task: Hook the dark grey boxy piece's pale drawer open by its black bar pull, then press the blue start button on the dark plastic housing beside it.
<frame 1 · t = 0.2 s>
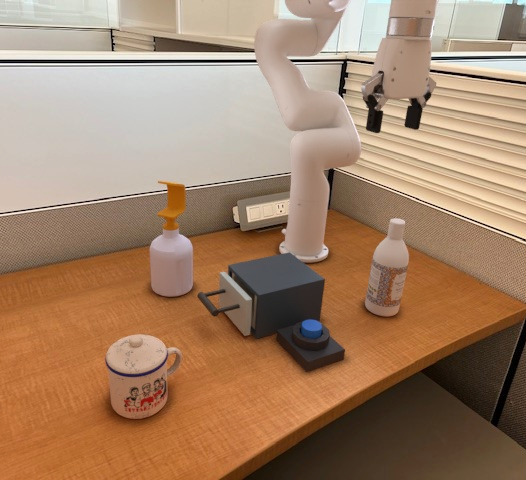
hand: (392, 129, 90), 37 cm above the table, tool pointing down, fingers open, 9 cm apart
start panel: (309, 349, 87), on the table
dark grey boxy piece: (272, 313, 98), on the table
teacup with lid: (148, 396, 75), on the table
drawer: (249, 298, 93), point 5 cm above the table, slide at 1.0 cm
soap bottle: (172, 287, 106), on the table
bath foam: (381, 309, 101), on the table
start button: (311, 329, 86), point 4 cm above the table, slide at 0.1 cm
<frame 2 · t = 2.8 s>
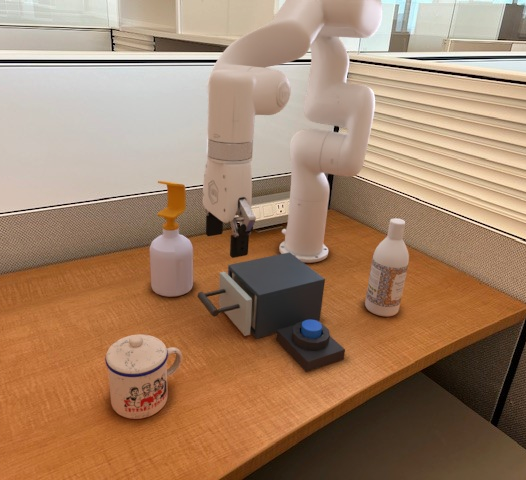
hand: (225, 244, 85), 18 cm above the table, tool pointing down, fingers open, 9 cm apart
nothing on the table moved.
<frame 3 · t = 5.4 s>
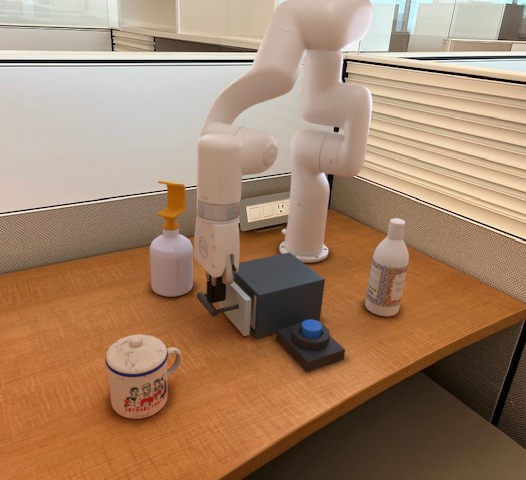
hand: (216, 299, 89), 6 cm above the table, tool pointing down, fingers closed
drawer: (248, 299, 93), point 5 cm above the table, slide at 1.2 cm, touching gripper
everything else where it was.
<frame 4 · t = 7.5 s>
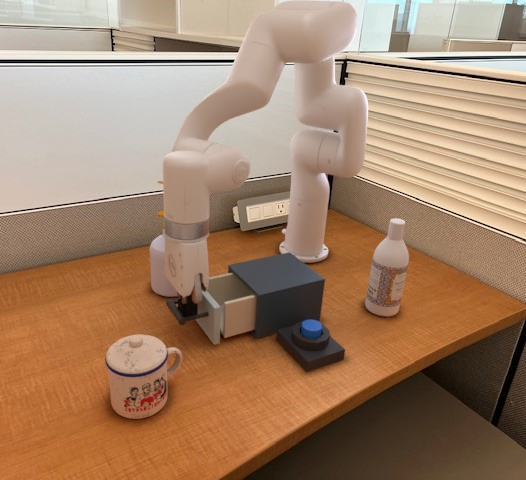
hand: (187, 317, 88), 4 cm above the table, tool pointing down, fingers closed
drawer: (220, 306, 91), point 5 cm above the table, slide at 7.3 cm
everything else where it was.
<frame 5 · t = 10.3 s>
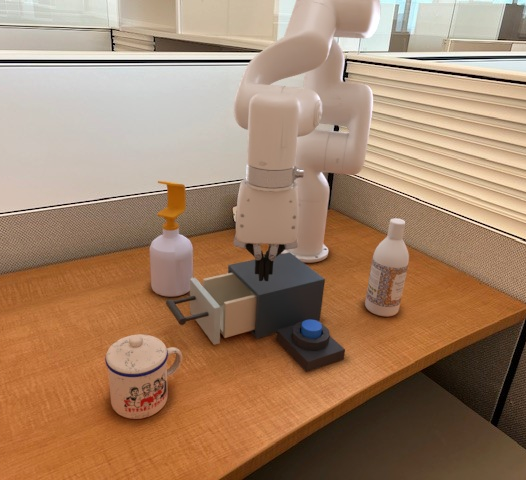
hand: (263, 277, 83), 14 cm above the table, tool pointing down, fingers closed
nothing on the table moved.
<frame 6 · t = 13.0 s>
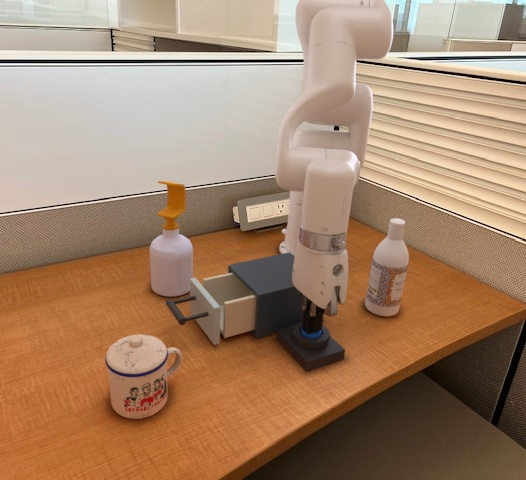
hand: (311, 330, 85), 4 cm above the table, tool pointing down, fingers closed
start button: (310, 333, 86), point 3 cm above the table, slide at -0.9 cm, touching gripper
everything else where it was.
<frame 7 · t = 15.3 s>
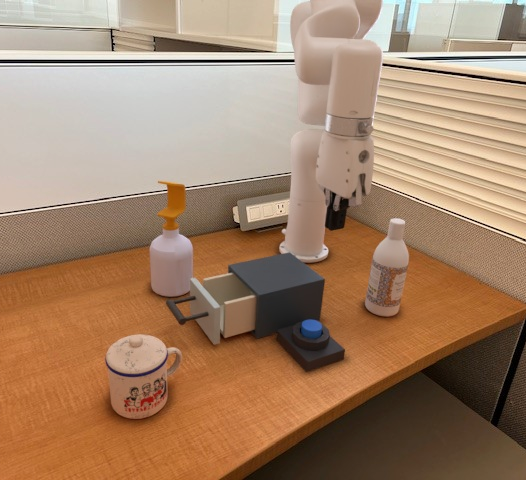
hand: (334, 227, 86), 21 cm above the table, tool pointing down, fingers closed
start button: (311, 329, 86), point 4 cm above the table, slide at 0.1 cm
everything else where it was.
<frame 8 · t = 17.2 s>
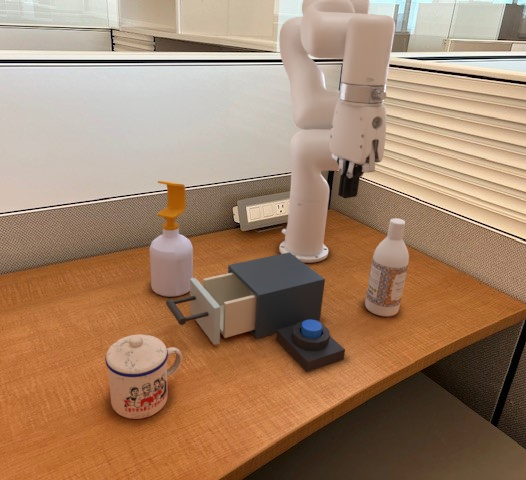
hand: (347, 195, 89), 25 cm above the table, tool pointing down, fingers closed
nothing on the table moved.
at the end: drawer slide at 7.3 cm; start button pushed in 1.1 cm at the most during the clip, back to where it started at the end; start button slide at 0.1 cm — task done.
